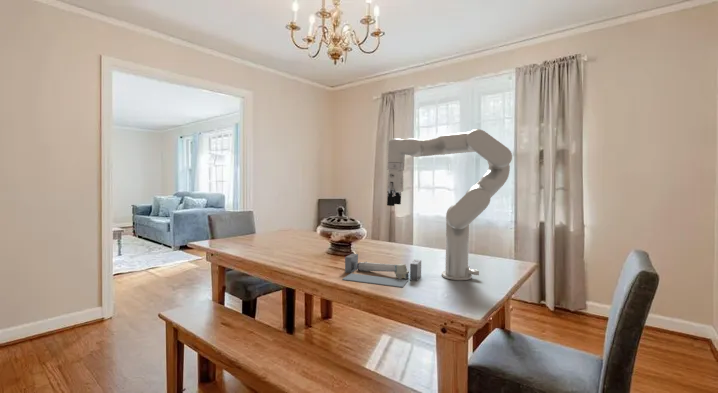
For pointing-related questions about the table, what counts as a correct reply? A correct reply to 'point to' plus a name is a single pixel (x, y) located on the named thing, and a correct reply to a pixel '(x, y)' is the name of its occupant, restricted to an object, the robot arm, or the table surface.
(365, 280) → the rubber mat
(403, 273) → the mallet
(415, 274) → the steel holder
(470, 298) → the table surface
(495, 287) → the table surface
